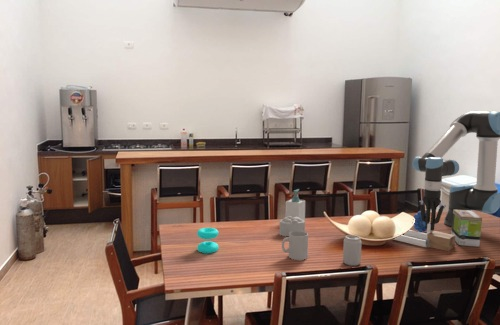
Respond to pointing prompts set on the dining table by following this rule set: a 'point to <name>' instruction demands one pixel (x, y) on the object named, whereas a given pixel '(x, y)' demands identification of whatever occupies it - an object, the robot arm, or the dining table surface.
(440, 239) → the block
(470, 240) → the tea box
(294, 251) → the mug
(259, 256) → the dining table surface
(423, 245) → the white parallel rail frame
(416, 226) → the grapes
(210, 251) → the donuts
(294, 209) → the soap bottle
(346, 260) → the can
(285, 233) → the lumpy-topped squat cylinder
